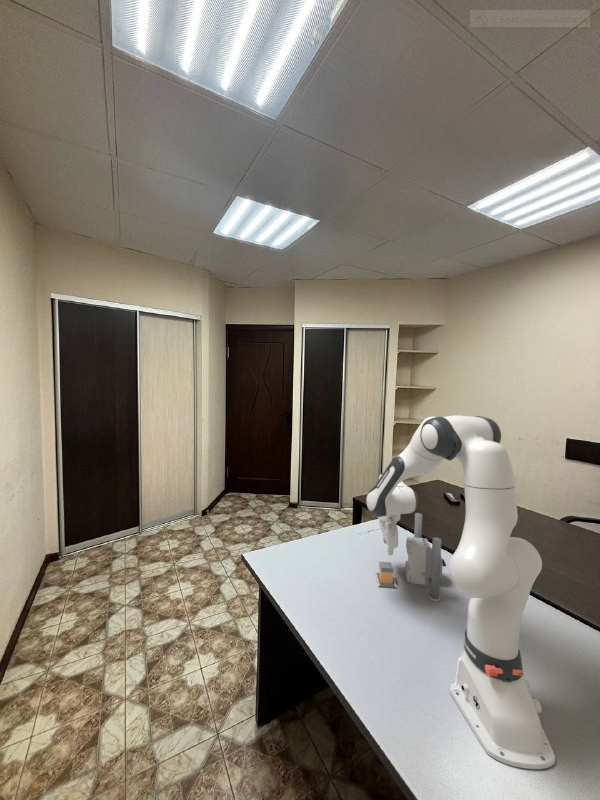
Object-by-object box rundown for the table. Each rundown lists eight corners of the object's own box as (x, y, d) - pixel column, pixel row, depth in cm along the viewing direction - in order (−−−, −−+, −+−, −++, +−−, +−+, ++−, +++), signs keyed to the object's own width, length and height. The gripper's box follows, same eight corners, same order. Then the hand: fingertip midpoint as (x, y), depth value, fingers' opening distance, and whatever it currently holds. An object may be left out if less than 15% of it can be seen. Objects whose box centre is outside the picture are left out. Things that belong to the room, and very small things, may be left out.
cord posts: (441, 602, 116) (444, 542, 115) (430, 601, 116) (433, 541, 115) (420, 561, 143) (422, 512, 142) (410, 560, 143) (412, 512, 142)
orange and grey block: (392, 583, 125) (393, 568, 125) (380, 582, 125) (381, 567, 125) (390, 576, 130) (390, 562, 129) (378, 576, 130) (379, 561, 130)
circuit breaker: (446, 587, 124) (447, 549, 124) (407, 582, 127) (408, 545, 126) (441, 576, 132) (443, 540, 131) (405, 571, 134) (406, 536, 134)
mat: (397, 588, 123) (397, 587, 123) (378, 587, 123) (378, 585, 123) (392, 574, 132) (392, 573, 132) (374, 573, 132) (374, 572, 132)
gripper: (403, 524, 116) (402, 562, 116) (391, 505, 136) (391, 537, 136) (385, 523, 116) (384, 561, 116) (376, 504, 137) (375, 536, 137)
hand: (387, 548), depth 127 cm, fingers open, 8 cm apart
